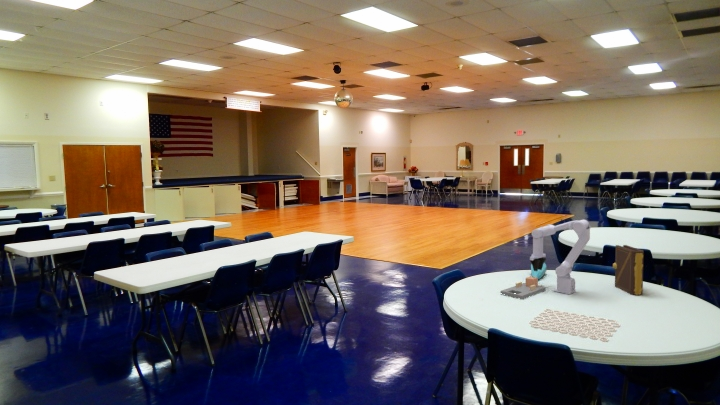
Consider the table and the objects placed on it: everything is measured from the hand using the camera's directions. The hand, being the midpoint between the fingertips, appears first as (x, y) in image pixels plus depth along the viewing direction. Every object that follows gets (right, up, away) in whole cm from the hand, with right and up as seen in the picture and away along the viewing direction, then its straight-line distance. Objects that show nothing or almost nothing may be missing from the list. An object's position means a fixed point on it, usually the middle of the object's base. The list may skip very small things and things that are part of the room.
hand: (537, 270), depth 282 cm
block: (-5, -9, -4) cm, 11 cm away
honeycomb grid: (-7, -17, -63) cm, 65 cm away
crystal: (+9, -8, +25) cm, 28 cm away
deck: (-12, -12, -9) cm, 19 cm away
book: (+48, -10, -11) cm, 50 cm away
